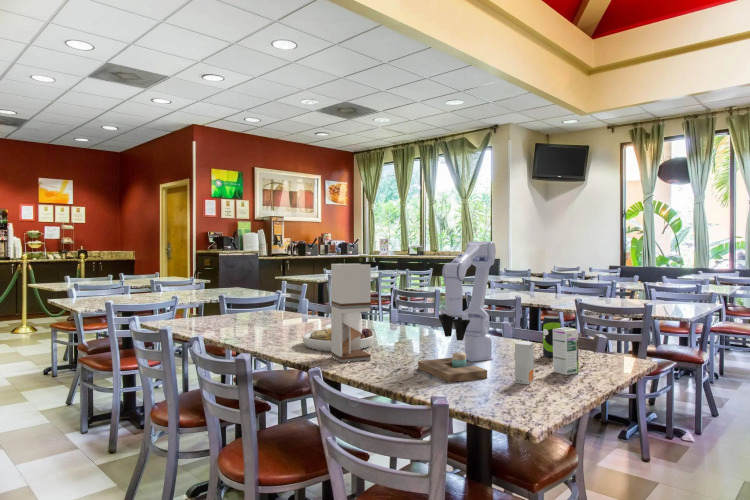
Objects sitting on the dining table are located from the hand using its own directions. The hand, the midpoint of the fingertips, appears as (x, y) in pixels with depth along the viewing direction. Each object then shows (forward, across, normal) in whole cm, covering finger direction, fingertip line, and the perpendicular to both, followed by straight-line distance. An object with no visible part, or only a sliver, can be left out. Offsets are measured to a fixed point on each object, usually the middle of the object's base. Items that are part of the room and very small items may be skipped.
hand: (453, 338), depth 174 cm
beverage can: (+11, -1, +44) cm, 45 cm away
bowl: (+11, -54, -23) cm, 60 cm away
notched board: (+10, +5, -4) cm, 12 cm away
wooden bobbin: (+10, +5, -1) cm, 12 cm away
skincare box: (+10, +23, +11) cm, 28 cm away
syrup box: (+11, +20, +31) cm, 38 cm away
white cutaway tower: (+10, -28, -27) cm, 40 cm away
